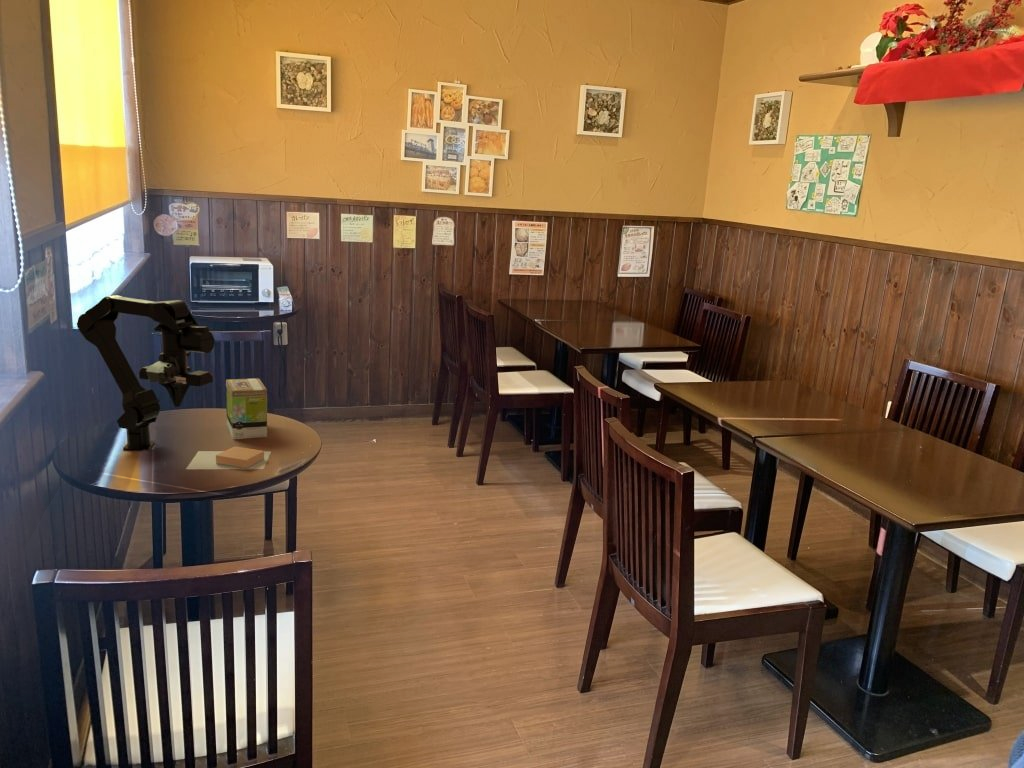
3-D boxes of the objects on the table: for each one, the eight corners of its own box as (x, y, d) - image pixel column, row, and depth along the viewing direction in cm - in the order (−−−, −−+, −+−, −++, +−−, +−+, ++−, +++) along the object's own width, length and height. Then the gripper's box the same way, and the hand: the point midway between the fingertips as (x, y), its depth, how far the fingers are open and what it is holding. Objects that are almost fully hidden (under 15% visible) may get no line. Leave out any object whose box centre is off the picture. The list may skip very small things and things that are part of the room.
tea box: (268, 438, 225) (267, 388, 221) (232, 441, 220) (230, 390, 217) (260, 423, 238) (259, 376, 234) (226, 426, 233) (224, 378, 230)
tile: (215, 455, 200) (246, 460, 198) (234, 446, 208) (264, 451, 205) (216, 464, 201) (246, 469, 198) (234, 454, 208) (264, 459, 206)
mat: (198, 452, 209) (198, 451, 209) (271, 452, 213) (271, 451, 212) (185, 470, 196) (185, 469, 196) (263, 470, 199) (263, 469, 199)
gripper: (121, 350, 196) (125, 409, 200) (184, 358, 191) (187, 419, 195) (152, 343, 207) (155, 399, 210) (212, 350, 202) (215, 408, 206)
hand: (177, 406), depth 205 cm, fingers closed
